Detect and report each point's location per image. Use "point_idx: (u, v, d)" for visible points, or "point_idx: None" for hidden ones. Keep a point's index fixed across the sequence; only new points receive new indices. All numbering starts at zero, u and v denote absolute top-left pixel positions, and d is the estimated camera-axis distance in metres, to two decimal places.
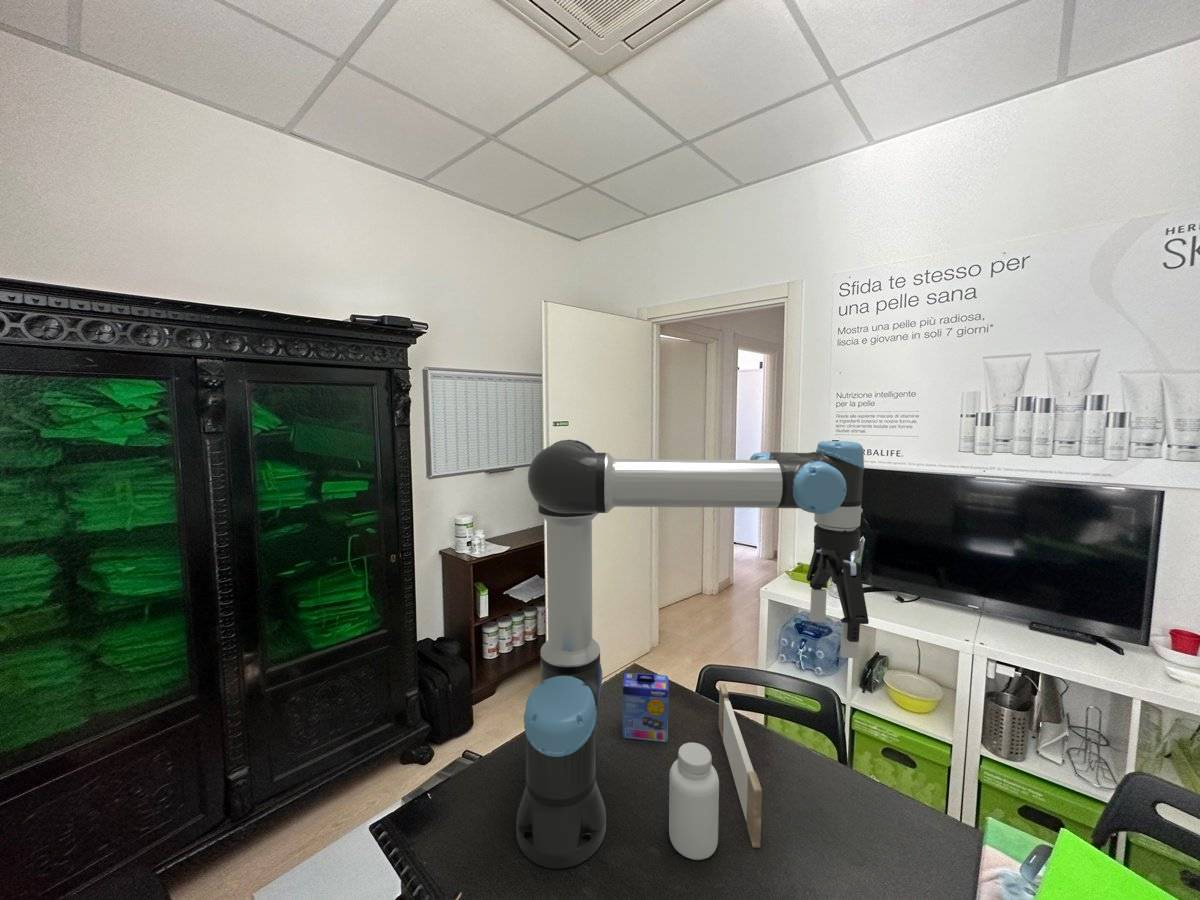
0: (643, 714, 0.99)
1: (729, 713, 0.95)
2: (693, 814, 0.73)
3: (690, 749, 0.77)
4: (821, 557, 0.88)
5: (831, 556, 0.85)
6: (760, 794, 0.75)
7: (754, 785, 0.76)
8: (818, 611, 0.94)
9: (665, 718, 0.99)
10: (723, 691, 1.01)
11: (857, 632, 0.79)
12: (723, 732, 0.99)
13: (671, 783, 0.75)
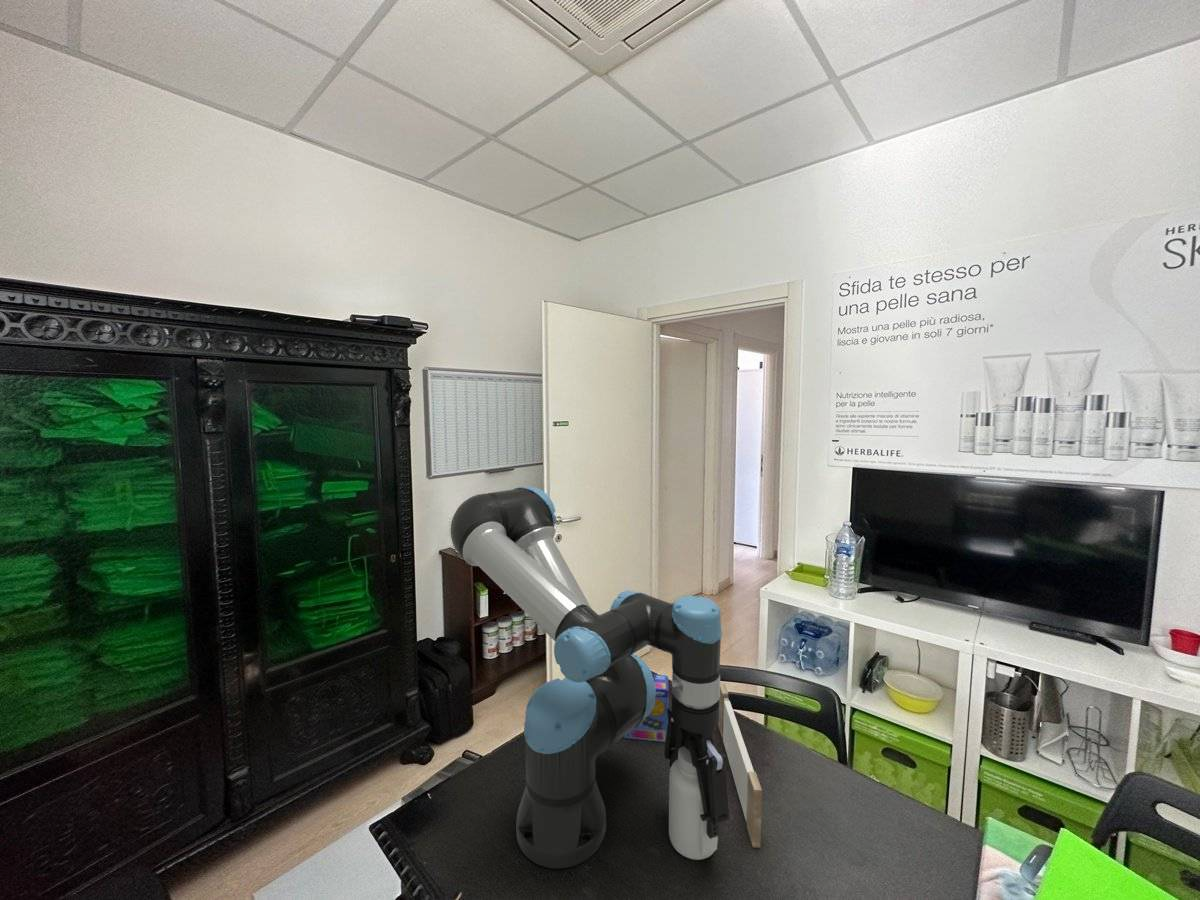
0: None
1: (729, 713, 0.95)
2: (693, 814, 0.73)
3: None
4: None
5: None
6: (760, 794, 0.75)
7: (754, 785, 0.76)
8: None
9: (665, 718, 0.99)
10: (723, 691, 1.01)
11: None
12: (723, 732, 0.99)
13: (671, 783, 0.75)
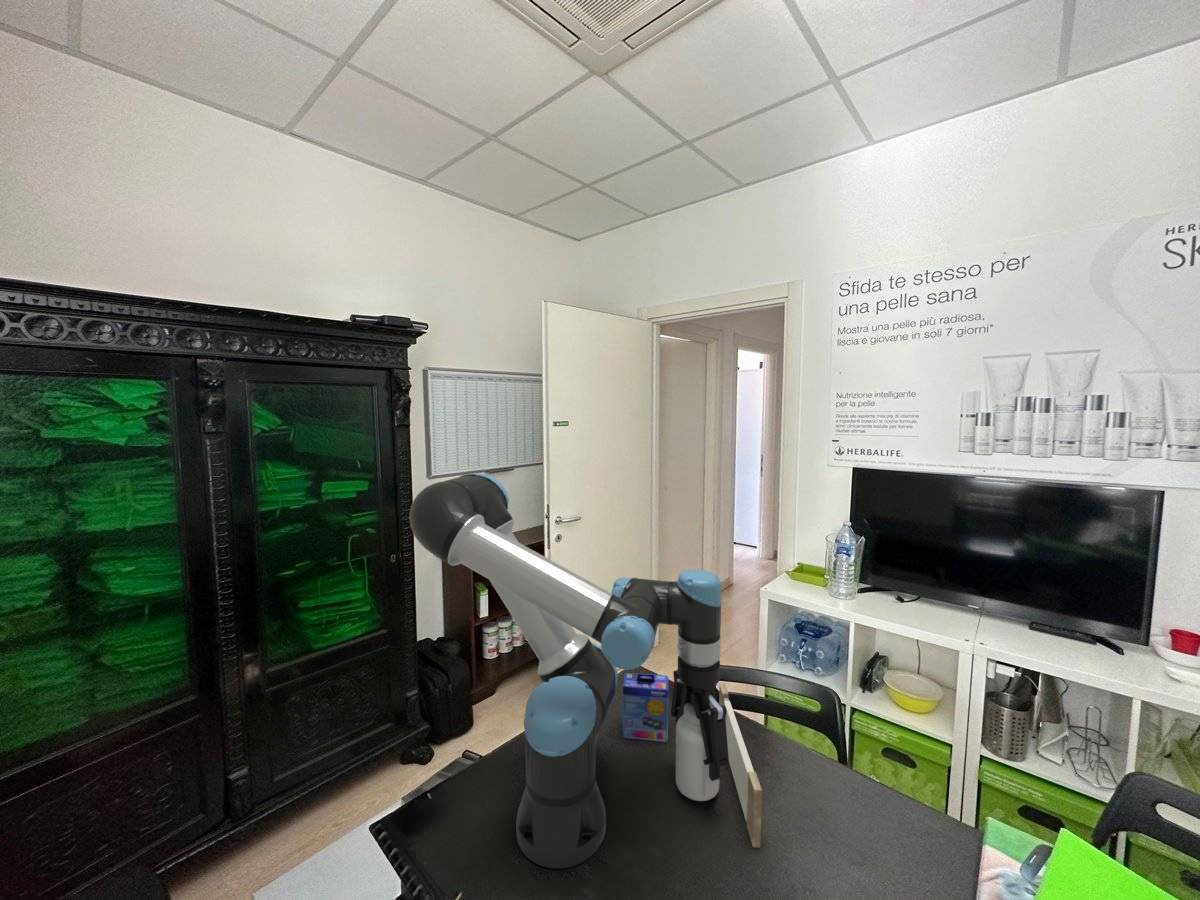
0: (643, 714, 0.99)
1: (729, 713, 0.95)
2: (697, 760, 0.83)
3: None
4: None
5: None
6: (760, 794, 0.75)
7: (754, 785, 0.76)
8: None
9: (665, 718, 0.99)
10: (723, 691, 1.01)
11: None
12: None
13: (677, 734, 0.85)
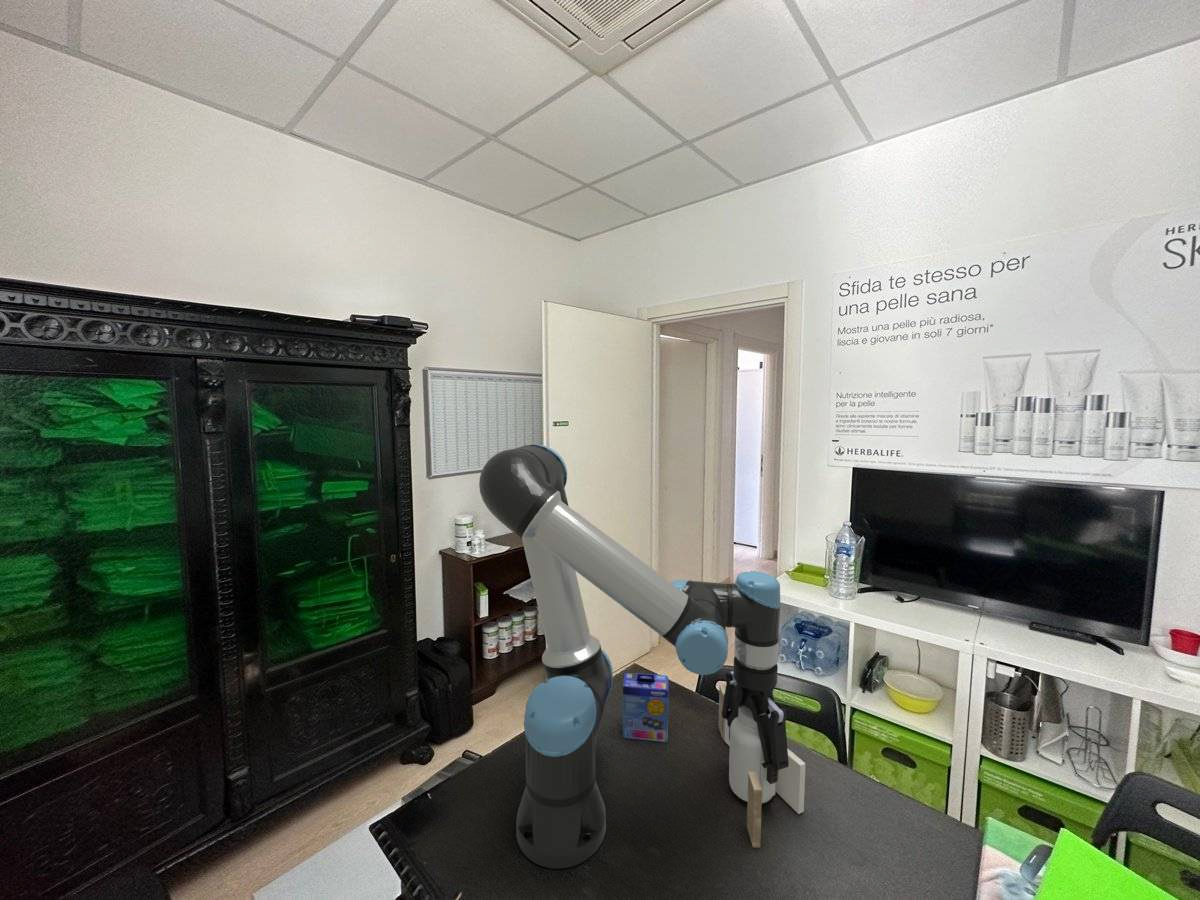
0: (643, 714, 0.99)
1: None
2: (754, 763, 0.82)
3: None
4: None
5: None
6: (760, 794, 0.75)
7: (754, 785, 0.76)
8: None
9: (665, 718, 0.99)
10: (723, 691, 1.01)
11: None
12: (725, 733, 0.99)
13: (733, 737, 0.85)
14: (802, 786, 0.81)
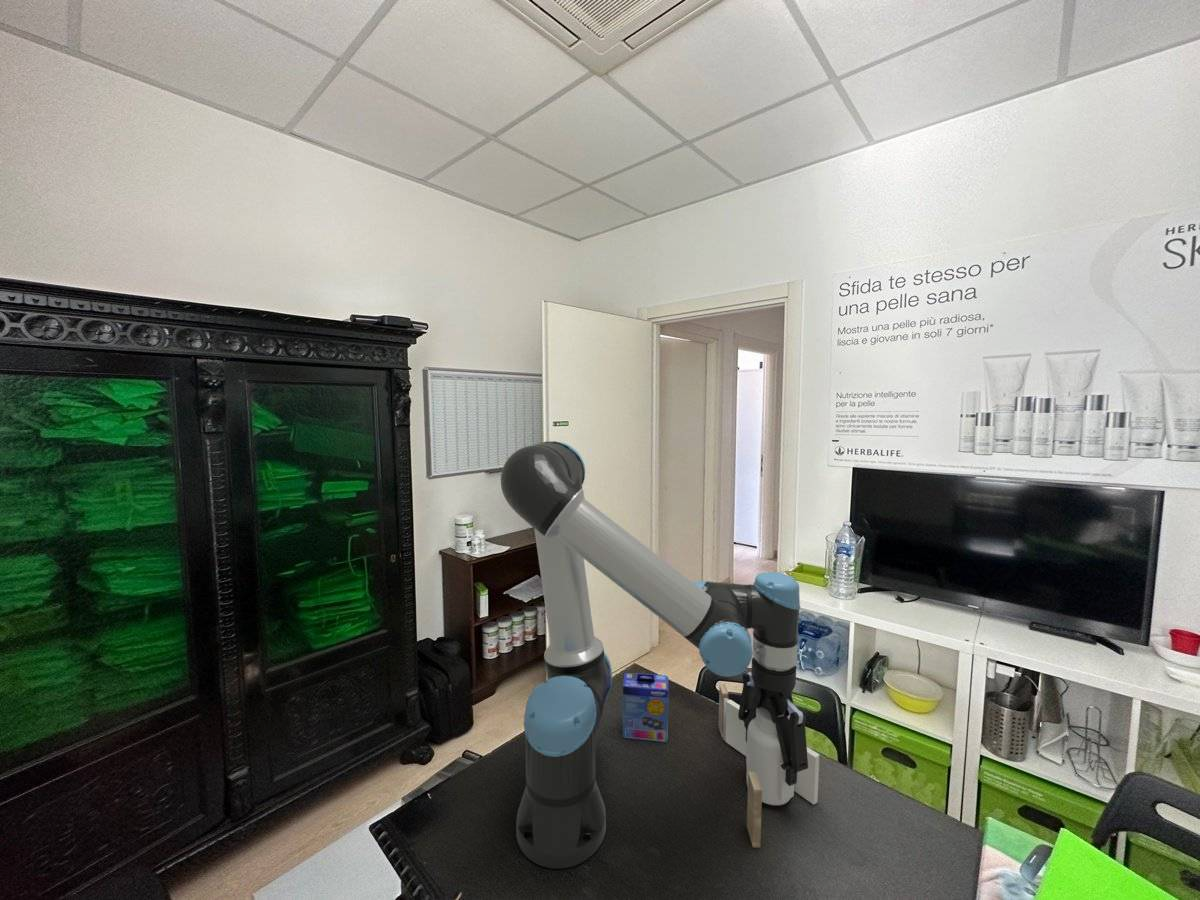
0: (643, 714, 0.99)
1: None
2: (773, 764, 0.82)
3: (766, 709, 0.86)
4: None
5: None
6: (760, 794, 0.75)
7: (754, 785, 0.76)
8: None
9: (665, 718, 0.99)
10: (723, 691, 1.01)
11: (746, 732, 0.91)
12: (726, 733, 0.99)
13: (751, 738, 0.84)
14: (817, 777, 0.83)
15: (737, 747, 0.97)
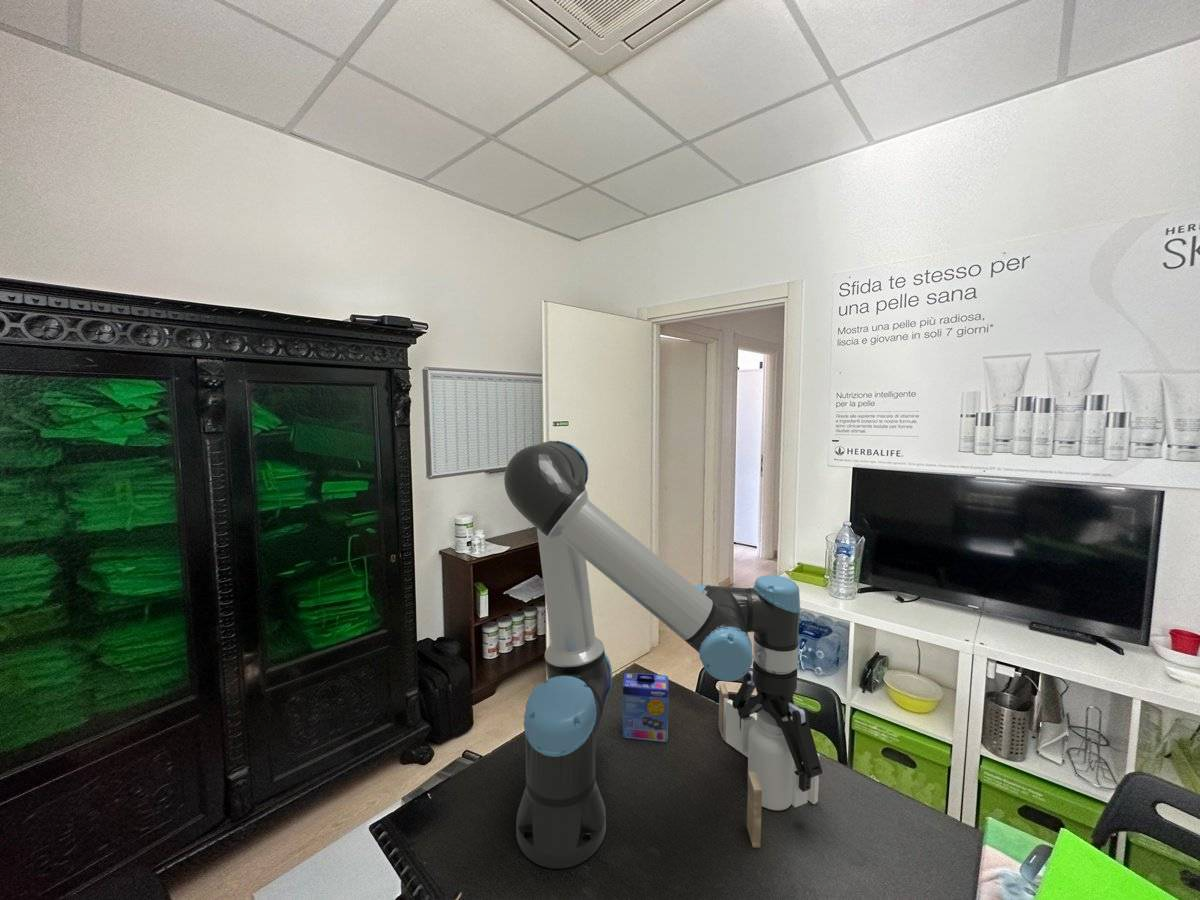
0: (643, 714, 0.99)
1: None
2: (774, 769, 0.82)
3: (767, 713, 0.86)
4: None
5: None
6: (760, 794, 0.75)
7: (754, 785, 0.76)
8: None
9: (665, 718, 0.99)
10: (723, 691, 1.01)
11: (740, 720, 0.93)
12: (726, 733, 0.99)
13: (752, 743, 0.84)
14: (817, 777, 0.84)
15: (737, 747, 0.97)
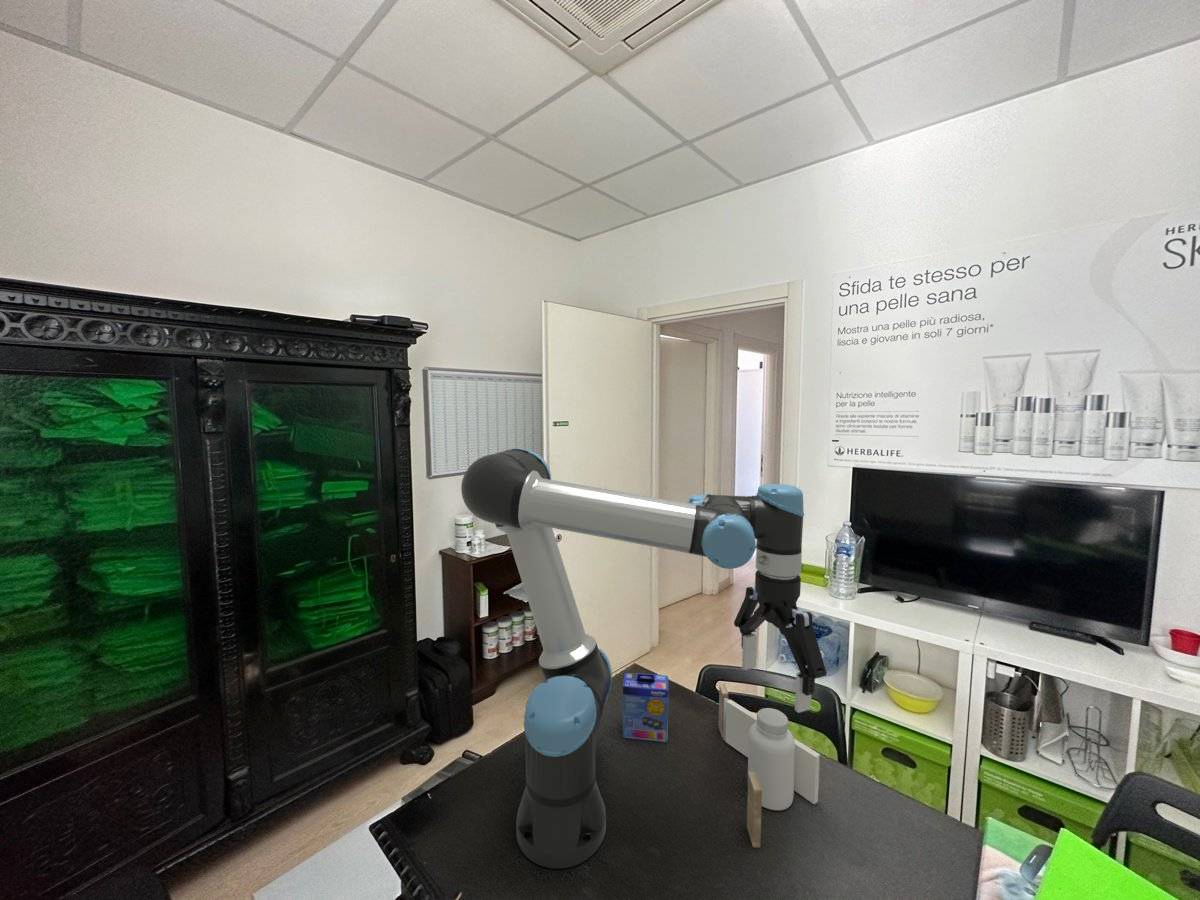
0: (643, 714, 0.99)
1: (743, 711, 0.95)
2: (774, 769, 0.82)
3: (767, 713, 0.86)
4: None
5: None
6: (760, 794, 0.75)
7: (754, 785, 0.76)
8: None
9: (665, 718, 0.99)
10: (723, 691, 1.01)
11: (742, 639, 0.92)
12: (726, 733, 0.99)
13: (752, 743, 0.84)
14: (817, 777, 0.84)
15: (737, 747, 0.97)
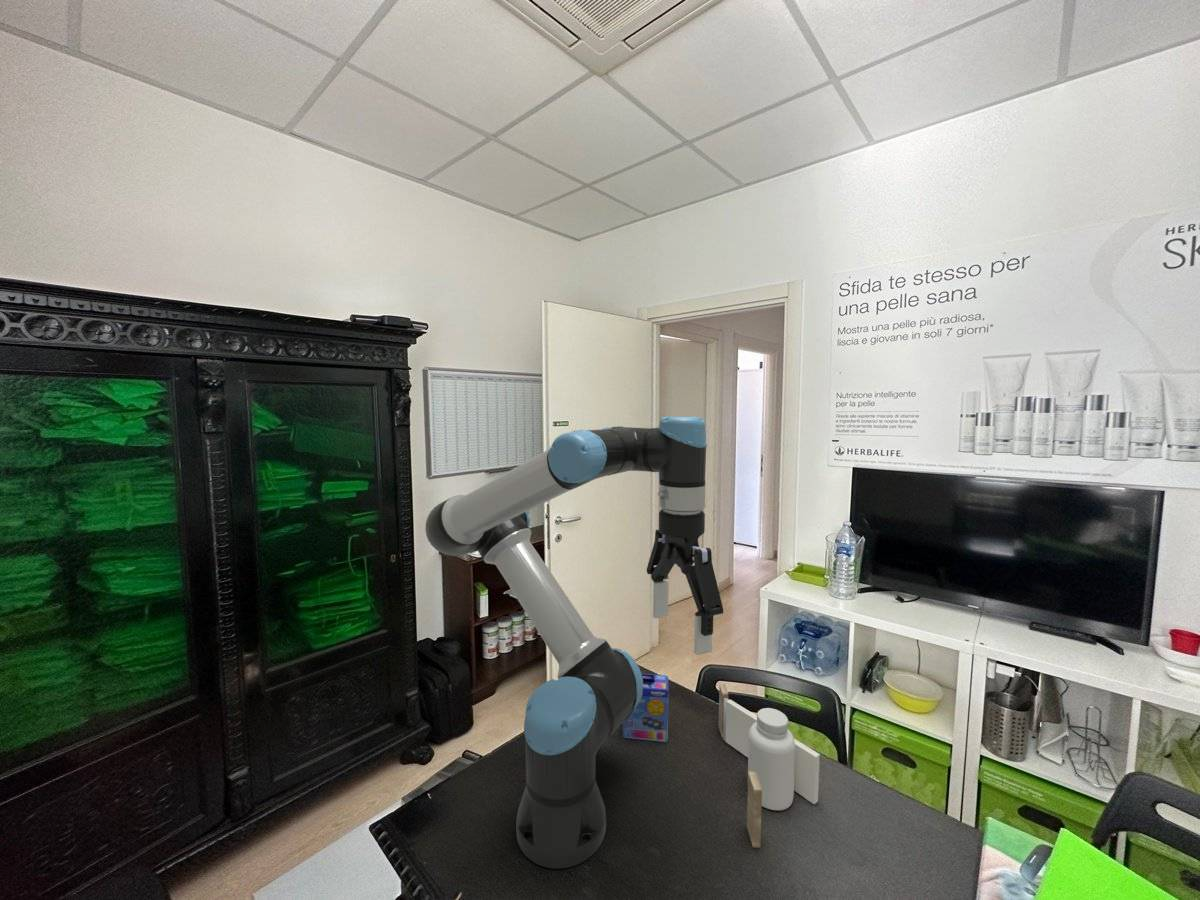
0: (643, 714, 0.99)
1: (743, 711, 0.95)
2: (774, 769, 0.82)
3: (767, 713, 0.86)
4: None
5: None
6: (760, 794, 0.75)
7: (754, 785, 0.76)
8: None
9: (665, 718, 0.99)
10: (723, 691, 1.01)
11: None
12: (726, 733, 0.99)
13: (752, 743, 0.84)
14: (817, 777, 0.84)
15: (737, 747, 0.97)
